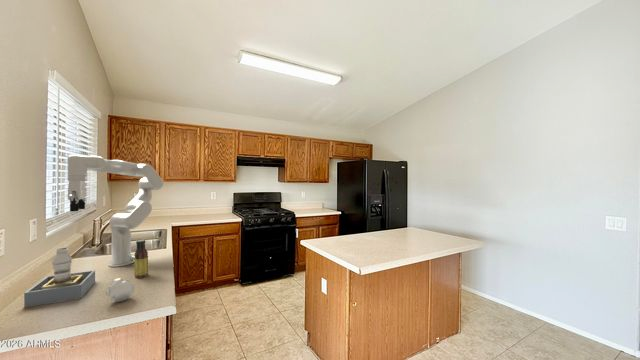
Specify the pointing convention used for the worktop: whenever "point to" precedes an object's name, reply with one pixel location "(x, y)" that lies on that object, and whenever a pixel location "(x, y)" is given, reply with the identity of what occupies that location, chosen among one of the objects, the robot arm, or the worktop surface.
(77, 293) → the walled box
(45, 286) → the olive square tray
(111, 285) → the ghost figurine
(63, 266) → the plastic bottle
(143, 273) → the sauce bottle
